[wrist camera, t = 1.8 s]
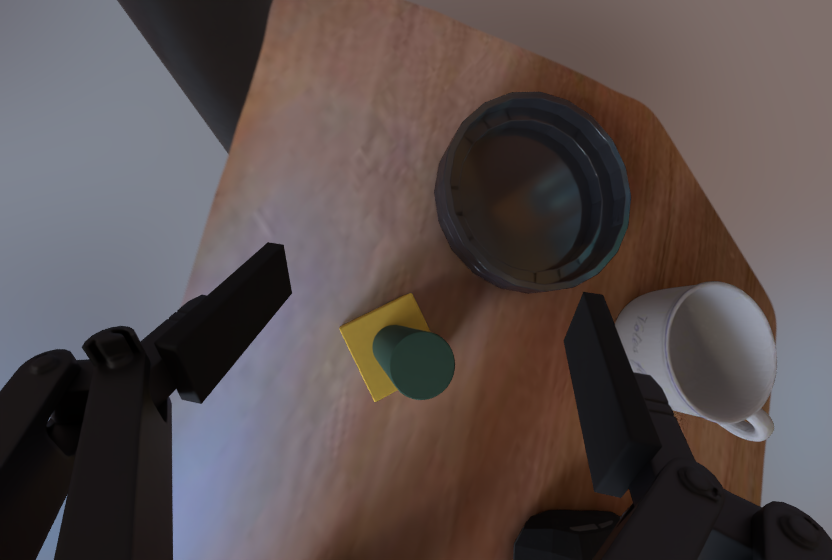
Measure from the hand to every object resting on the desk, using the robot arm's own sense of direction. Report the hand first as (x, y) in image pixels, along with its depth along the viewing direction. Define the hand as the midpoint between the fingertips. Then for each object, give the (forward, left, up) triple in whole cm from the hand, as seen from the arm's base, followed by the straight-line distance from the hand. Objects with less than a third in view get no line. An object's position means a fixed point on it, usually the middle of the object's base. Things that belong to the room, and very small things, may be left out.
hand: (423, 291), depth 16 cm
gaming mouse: (+27, +7, -15) cm, 32 cm away
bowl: (-3, +16, -15) cm, 22 cm away
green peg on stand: (+3, -1, -15) cm, 15 cm away
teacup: (+16, +21, -15) cm, 30 cm away
